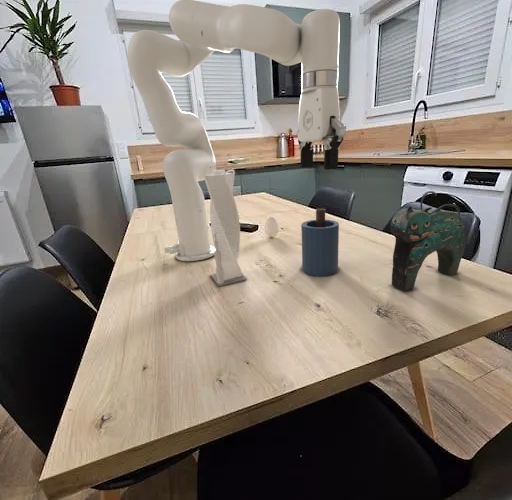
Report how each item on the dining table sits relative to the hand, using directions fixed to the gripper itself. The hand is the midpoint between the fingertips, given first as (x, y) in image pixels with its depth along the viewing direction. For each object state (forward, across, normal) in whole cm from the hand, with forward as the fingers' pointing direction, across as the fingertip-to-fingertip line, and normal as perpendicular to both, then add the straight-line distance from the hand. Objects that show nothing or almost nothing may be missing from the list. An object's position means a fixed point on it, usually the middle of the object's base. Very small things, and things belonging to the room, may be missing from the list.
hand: (318, 167), depth 68 cm
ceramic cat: (+25, +18, +17) cm, 35 cm away
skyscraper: (+26, -7, -21) cm, 34 cm away
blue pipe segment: (+25, +1, +1) cm, 25 cm away
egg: (+26, -32, +3) cm, 41 cm away
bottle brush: (+25, +1, +1) cm, 25 cm away
